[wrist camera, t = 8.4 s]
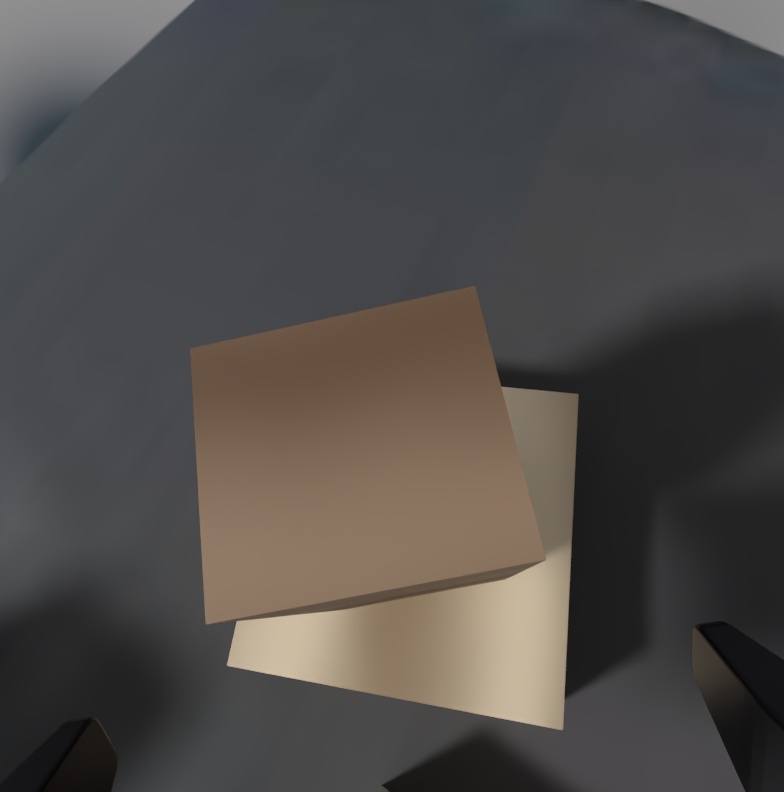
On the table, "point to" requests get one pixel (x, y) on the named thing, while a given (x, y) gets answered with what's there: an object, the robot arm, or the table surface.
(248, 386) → the walnut block
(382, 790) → the slate block
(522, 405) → the beech block
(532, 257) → the table surface
